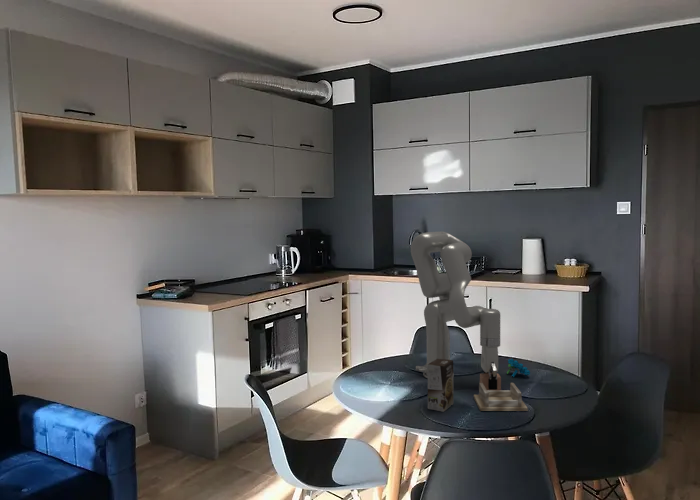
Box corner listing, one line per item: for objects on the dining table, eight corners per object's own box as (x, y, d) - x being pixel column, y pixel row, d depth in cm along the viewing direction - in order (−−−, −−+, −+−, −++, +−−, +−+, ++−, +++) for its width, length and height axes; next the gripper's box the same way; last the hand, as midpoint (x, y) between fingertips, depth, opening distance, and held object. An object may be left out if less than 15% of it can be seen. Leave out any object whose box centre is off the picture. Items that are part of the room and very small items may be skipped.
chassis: (480, 411, 195) (480, 394, 195) (473, 397, 209) (473, 381, 209) (527, 411, 194) (527, 394, 194) (517, 397, 208) (517, 381, 208)
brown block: (482, 391, 216) (482, 377, 216) (479, 387, 221) (479, 373, 221) (500, 391, 216) (500, 377, 216) (498, 387, 221) (498, 373, 221)
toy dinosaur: (535, 374, 231) (519, 358, 229) (528, 386, 229) (511, 370, 227) (519, 370, 241) (503, 355, 239) (511, 382, 239) (495, 367, 237)
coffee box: (444, 412, 195) (444, 366, 194) (427, 409, 199) (426, 363, 197) (454, 404, 203) (454, 359, 202) (437, 401, 206) (437, 357, 205)
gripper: (476, 336, 226) (476, 378, 227) (484, 347, 209) (484, 392, 210) (495, 336, 226) (495, 378, 227) (505, 346, 208) (505, 392, 210)
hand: (490, 385), depth 219 cm, fingers open, 9 cm apart
